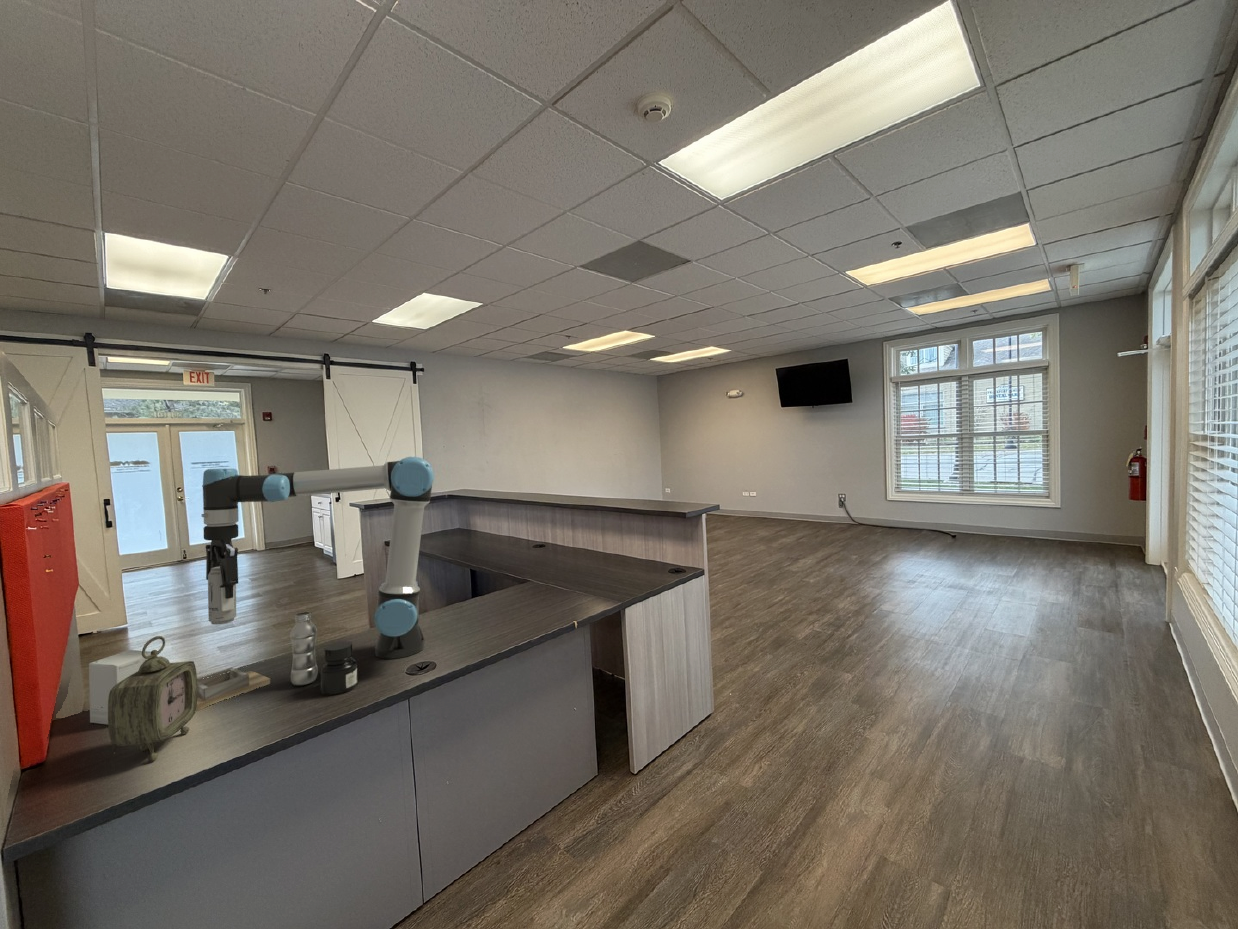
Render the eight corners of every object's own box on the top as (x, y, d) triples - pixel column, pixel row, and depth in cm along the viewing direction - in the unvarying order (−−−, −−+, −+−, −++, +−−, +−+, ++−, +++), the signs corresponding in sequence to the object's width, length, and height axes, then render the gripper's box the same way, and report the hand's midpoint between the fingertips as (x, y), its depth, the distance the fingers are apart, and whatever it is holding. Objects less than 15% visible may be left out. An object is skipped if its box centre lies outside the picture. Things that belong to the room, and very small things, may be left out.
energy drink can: (205, 622, 137) (204, 568, 137) (231, 616, 142) (231, 564, 142) (212, 626, 134) (212, 571, 133) (239, 620, 138) (239, 567, 138)
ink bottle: (357, 691, 137) (356, 648, 137) (320, 699, 133) (319, 655, 133) (356, 678, 146) (355, 637, 145) (321, 685, 141) (320, 643, 141)
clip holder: (270, 683, 143) (269, 668, 143) (182, 716, 125) (181, 698, 125) (251, 675, 148) (250, 660, 148) (164, 705, 131) (163, 688, 131)
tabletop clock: (156, 765, 105) (152, 648, 105) (105, 772, 103) (101, 652, 103) (198, 728, 119) (195, 625, 119) (154, 733, 117) (150, 628, 117)
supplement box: (117, 727, 121) (115, 665, 120) (88, 723, 122) (86, 663, 122) (158, 708, 130) (156, 651, 129) (131, 705, 131) (129, 649, 131)
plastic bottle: (287, 683, 142) (285, 614, 142) (314, 675, 147) (312, 608, 147) (294, 691, 138) (292, 619, 138) (321, 682, 143) (319, 613, 143)
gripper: (189, 523, 139) (191, 606, 139) (220, 528, 129) (221, 617, 130) (222, 520, 145) (223, 599, 146) (253, 525, 136) (254, 609, 136)
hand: (222, 607), depth 138 cm, fingers closed on energy drink can, 6 cm apart
